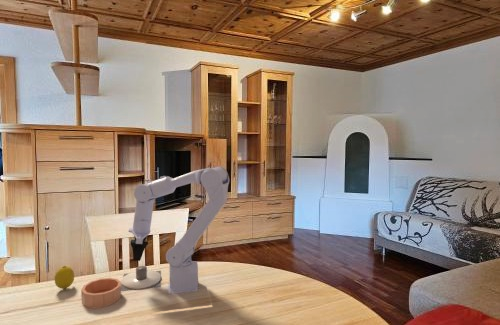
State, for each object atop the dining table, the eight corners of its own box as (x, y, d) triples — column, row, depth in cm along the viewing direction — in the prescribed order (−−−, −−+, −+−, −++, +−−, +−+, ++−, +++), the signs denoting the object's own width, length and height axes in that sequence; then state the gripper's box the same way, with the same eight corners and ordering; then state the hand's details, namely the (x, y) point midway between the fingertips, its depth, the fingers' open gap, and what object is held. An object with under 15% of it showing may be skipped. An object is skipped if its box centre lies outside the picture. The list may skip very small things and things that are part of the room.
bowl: (122, 289, 103) (122, 276, 102) (118, 306, 92) (118, 292, 92) (86, 293, 100) (86, 279, 100) (78, 311, 90) (77, 296, 89)
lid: (160, 270, 117) (160, 259, 116) (160, 286, 104) (160, 274, 104) (123, 274, 113) (123, 262, 113) (119, 291, 101) (118, 278, 100)
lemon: (65, 294, 99) (64, 270, 98) (50, 292, 100) (50, 268, 99) (78, 286, 104) (77, 263, 104) (64, 284, 105) (63, 261, 105)
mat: (160, 272, 117) (160, 270, 117) (160, 288, 104) (160, 286, 104) (123, 275, 113) (123, 274, 113) (119, 292, 101) (119, 291, 101)
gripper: (132, 210, 112) (127, 246, 113) (128, 224, 98) (122, 264, 99) (152, 212, 114) (147, 247, 115) (151, 225, 100) (145, 265, 101)
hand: (137, 255), depth 107 cm, fingers open, 7 cm apart
